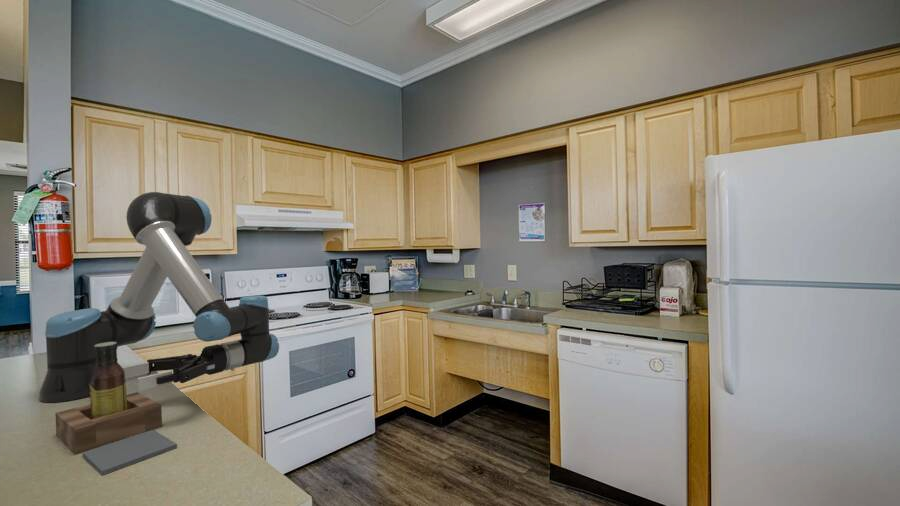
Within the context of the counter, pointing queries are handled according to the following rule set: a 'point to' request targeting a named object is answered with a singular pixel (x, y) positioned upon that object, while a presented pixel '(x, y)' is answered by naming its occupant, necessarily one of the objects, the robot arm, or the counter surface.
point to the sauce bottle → (107, 382)
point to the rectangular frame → (107, 424)
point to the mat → (128, 451)
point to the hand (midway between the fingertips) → (126, 379)
